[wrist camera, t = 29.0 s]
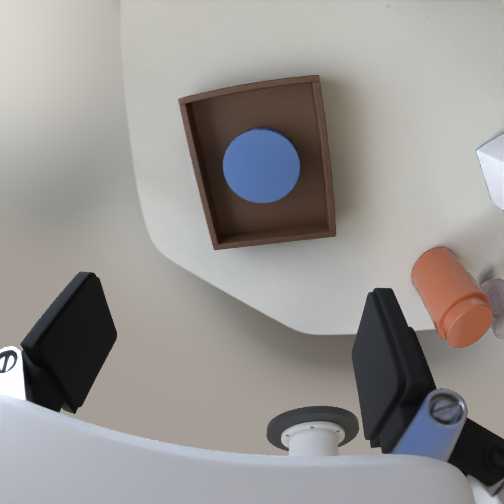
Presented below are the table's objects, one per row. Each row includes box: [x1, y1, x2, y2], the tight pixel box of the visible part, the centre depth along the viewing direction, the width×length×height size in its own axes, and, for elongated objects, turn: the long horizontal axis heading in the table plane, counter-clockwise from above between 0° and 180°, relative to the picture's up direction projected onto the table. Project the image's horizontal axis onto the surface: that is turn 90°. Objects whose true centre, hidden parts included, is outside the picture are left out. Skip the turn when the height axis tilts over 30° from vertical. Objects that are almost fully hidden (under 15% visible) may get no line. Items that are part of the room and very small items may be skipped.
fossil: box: [480, 279, 504, 339], centre depth 29 cm, size 6×4×10 cm, turn 178°
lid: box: [223, 127, 301, 203], centre depth 28 cm, size 7×7×2 cm
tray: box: [178, 75, 336, 250], centre depth 28 cm, size 15×12×3 cm
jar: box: [412, 247, 493, 348], centre depth 29 cm, size 7×7×11 cm
